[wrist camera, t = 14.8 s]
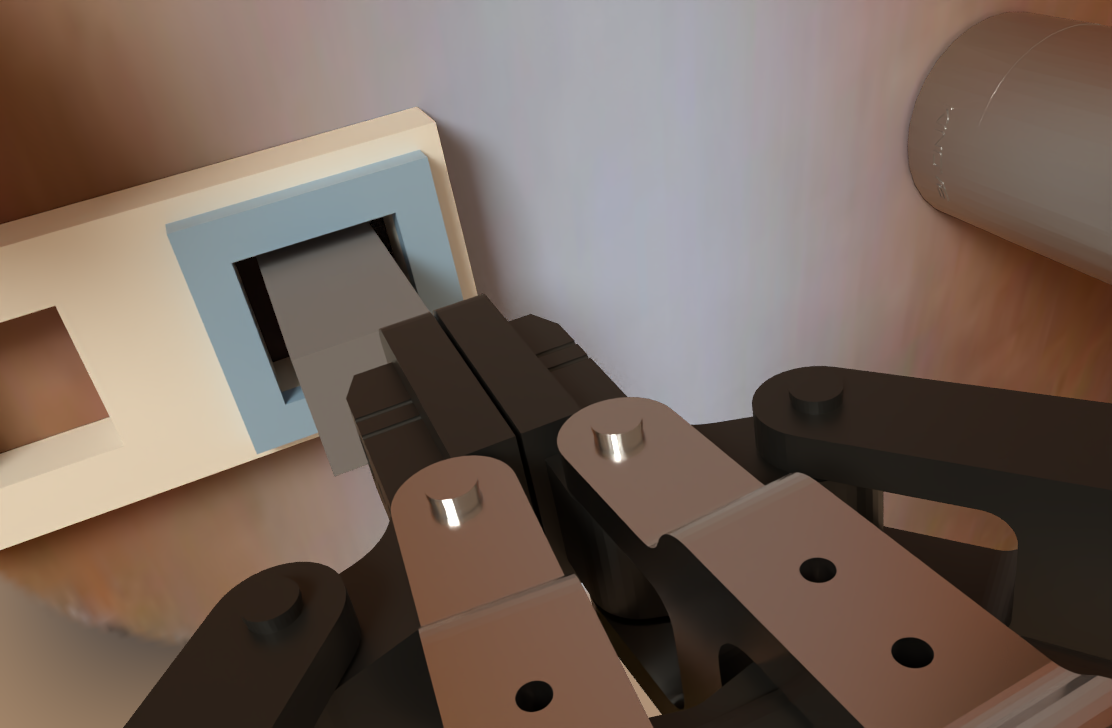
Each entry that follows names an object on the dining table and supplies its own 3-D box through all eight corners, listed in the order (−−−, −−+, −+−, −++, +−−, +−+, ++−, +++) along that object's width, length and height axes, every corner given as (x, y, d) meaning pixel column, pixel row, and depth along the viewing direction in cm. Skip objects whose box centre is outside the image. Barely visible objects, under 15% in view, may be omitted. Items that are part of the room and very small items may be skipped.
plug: (359, 209, 36) (430, 313, 28) (388, 305, 38) (463, 428, 30) (251, 242, 35) (291, 360, 27) (287, 338, 37) (334, 476, 29)
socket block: (416, 106, 35) (443, 128, 32) (477, 346, 40) (505, 384, 37) (-235, 290, 30) (-273, 336, 27) (-72, 537, 35) (-89, 598, 32)
